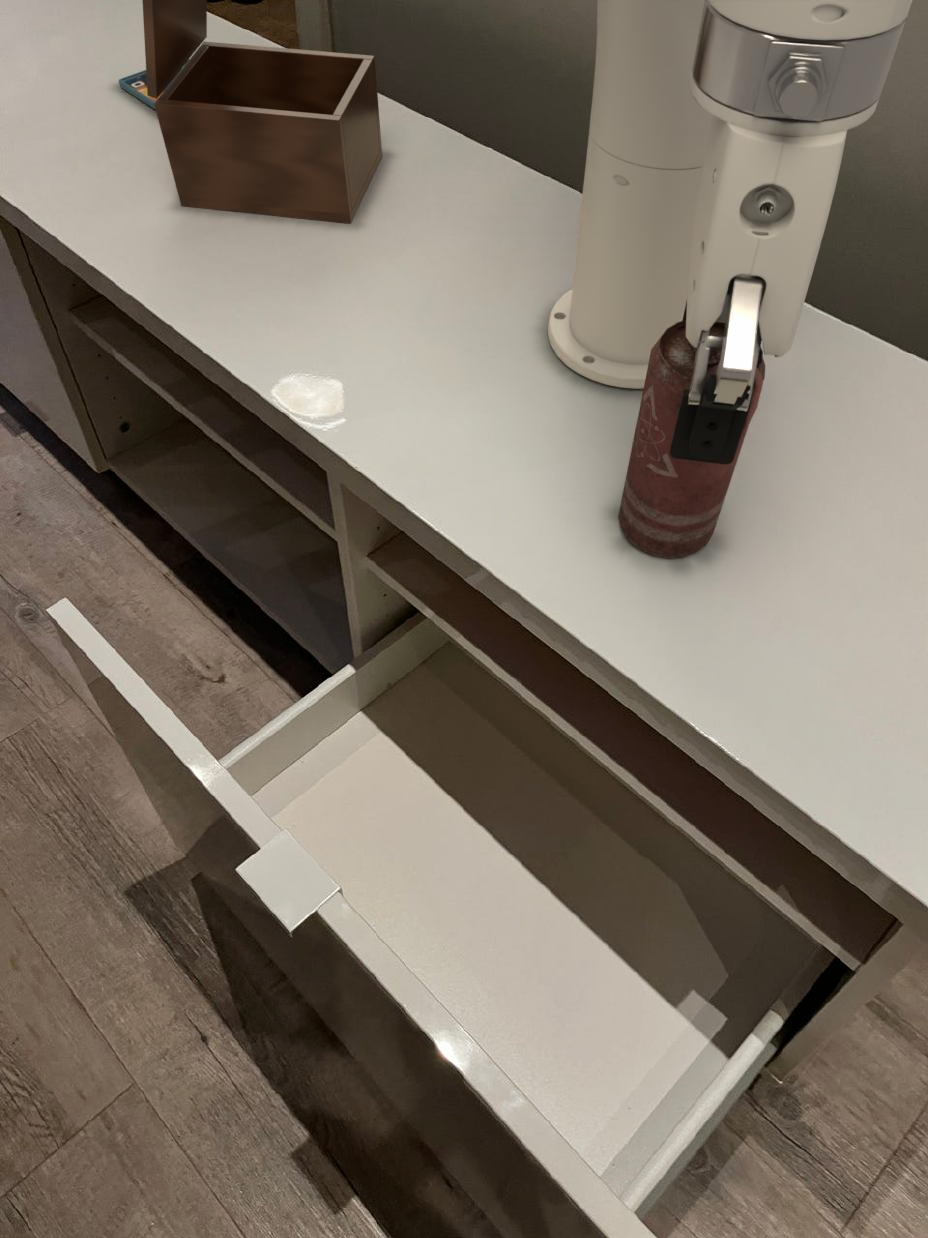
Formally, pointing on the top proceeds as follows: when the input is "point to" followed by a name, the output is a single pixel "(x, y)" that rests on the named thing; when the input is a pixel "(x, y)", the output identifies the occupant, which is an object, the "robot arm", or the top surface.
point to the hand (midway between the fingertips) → (703, 396)
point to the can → (665, 486)
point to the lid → (171, 38)
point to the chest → (273, 130)
